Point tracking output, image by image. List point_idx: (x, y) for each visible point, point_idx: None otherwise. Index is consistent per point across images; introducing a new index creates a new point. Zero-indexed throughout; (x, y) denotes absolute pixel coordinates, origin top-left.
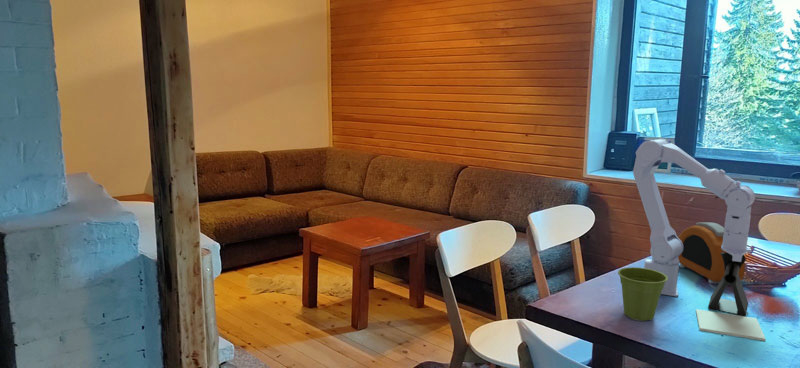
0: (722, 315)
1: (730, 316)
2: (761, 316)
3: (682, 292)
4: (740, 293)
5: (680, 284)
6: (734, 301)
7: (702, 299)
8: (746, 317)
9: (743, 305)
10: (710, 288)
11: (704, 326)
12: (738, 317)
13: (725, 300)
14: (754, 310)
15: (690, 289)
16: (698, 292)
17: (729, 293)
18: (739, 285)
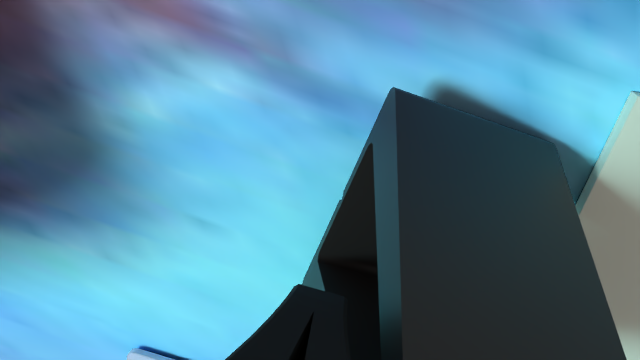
0: None
1: (604, 266)
2: (524, 9)
3: (182, 338)
4: (553, 280)
5: (50, 302)
6: (362, 174)
7: (263, 282)
8: (620, 167)
9: (556, 198)
10: (31, 166)
11: None
12: (622, 222)
13: (350, 225)
14: (389, 17)
15: (110, 283)
16: (144, 260)
17: (70, 76)
18: (506, 320)
